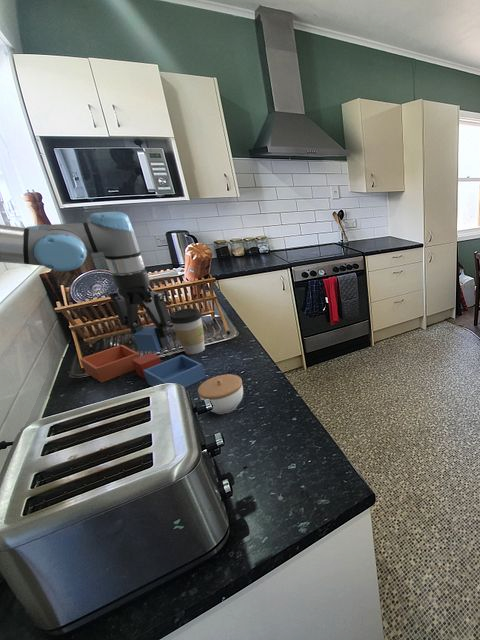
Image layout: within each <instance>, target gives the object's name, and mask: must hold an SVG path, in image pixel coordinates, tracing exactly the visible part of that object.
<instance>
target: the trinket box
mask: <svg viewBox="0 0 480 640" xmlns="http://www.w3.org/2000/svg"><path fill="white" fill-rule="evenodd" d="M197 394H198V397H199V399H200V401H201V400H205V399H209V400H210V401H211V403H212V405H213V409H212V410H211V411H210V412H212V413H215V414H217V415H225V413H226V414H229V413H232V412H233V411H235V410H236V409H237V408H236V407H238V406H239V405H240V404H241V402H242V400H243V397H244V386H243V381H242V378H241V377H240V376H239V375H237V374H230V373H229V374H228V373H227V374H221V375H216V376H213V377H210V378H209V379H207V380H205V381H203V382H202V383H201V384H200V385H199V386H198V388H197ZM235 408H236V409H235Z"/></svg>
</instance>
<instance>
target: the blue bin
mask: <svg viewBox="0 0 480 640" xmlns="http://www.w3.org/2000/svg"><path fill="white" fill-rule="evenodd" d="M143 372H144V374H145V377H146V379H145V380H146V382H147V385H148V386H150V387H152V386H155V385H159V384H164V383H179V384H182V385H183V386H184V387H185V388H187V387H189V386H192V385H194V384H196V383H197V382H200V381H202V380H204V379H206V378H207V377H206V373H205V370H204V366H203V363H200V362H198V361H196V360H194V359H192V358H189V356H186V355H184V354H179V355H178V356H175V357H173V358H170V359H168V360H165V361H162V362H161V363H160V364H158V365H155V366H153V367H150V368H148V369H146V370H143Z"/></svg>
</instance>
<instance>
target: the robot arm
mask: <svg viewBox="0 0 480 640" xmlns="http://www.w3.org/2000/svg"><path fill="white" fill-rule="evenodd" d="M89 218H90V219H89V221H87V222H77V223H59V224H58V223H57V224H46V223H45V224H40V225H31V226H26V227H23V226H15V225H7V224H0V263H6V264H7V263H8V264H19V265H29V266H30V265H31V266H39V267H40V266H41V267H45V268H47V269H49V270H52V271H55V272H71V271H74V270H76V269H79V268H80V267H81V266H82V265H83V264H84V263H85V261H86V258H87V257H88V255H89V254H97V253H103V257H104V258H105V262H106V264H107V267H108V270H109V273H111V274H112V275H111V278H112V281H113V283H114V286H115V288H116V289H117V290H115V291H114V292H111V293H109V294H108V297H109V298H110V300H111V301H112V302H113V304H114V308H115V311H116V315H117V317H118V318H117V319H118V320H119V323H120V326H122V327H128V328H129V329H130V332H131V334H132V336H133V334H135V333H136V332H138V331H140V330H141V329H143V328H144V326H143V324H141V321H139V306H140V307H141V308H142V309H144V311H145V312H146V314H147V316H149V318H150V320H151V322H152V323H153V324H154V326H156V328H155V329H154V330H155V333H156V336H157V339H158V342H159V345H160V348H161V350H162V349H163V350H164V349H165V348H166V347H168V346H169V345H170V343H169V342H168V338H169V331H168V328H167V326H168V325H170V324H172V323H171V322H172V321H171V318H170V315H171V314H170V312H169V309H168V307H167V305H166V301H165V292H164V291H159V292H158V291H155V290H153V288H152V287H151V286H150V284H151V283H150V282H151V281H150V276H149V274H148V271H147V270H146V265H145V262H144V259H143V255H142V253H141V250H140V246H139V243H138V239H137V236H136V233H135V230H134V228H133V225H132V222H131V220H130V218H129V216H128V214H126V213H125V212H123V211H122V212H121V211H102V212H93V213H91V214H90V215H89ZM167 336H168V338H167Z"/></svg>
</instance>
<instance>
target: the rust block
mask: <svg viewBox="0 0 480 640" xmlns="http://www.w3.org/2000/svg"><path fill="white" fill-rule="evenodd" d="M139 356H140V357H138V358H135V359H132V362H133V365H134V368H135V370H134V371H135V373H136V375H138V376H139V377H141V378H142V379H144V380H146V377H145V374H144V372H143V370H146V369H148V368H150V367H153V366H155V365H158V364H160V363H162V360H161V357H160V356H159V355H156V354H155V353H152V352H149V353H146V354H143V355H139Z"/></svg>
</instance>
